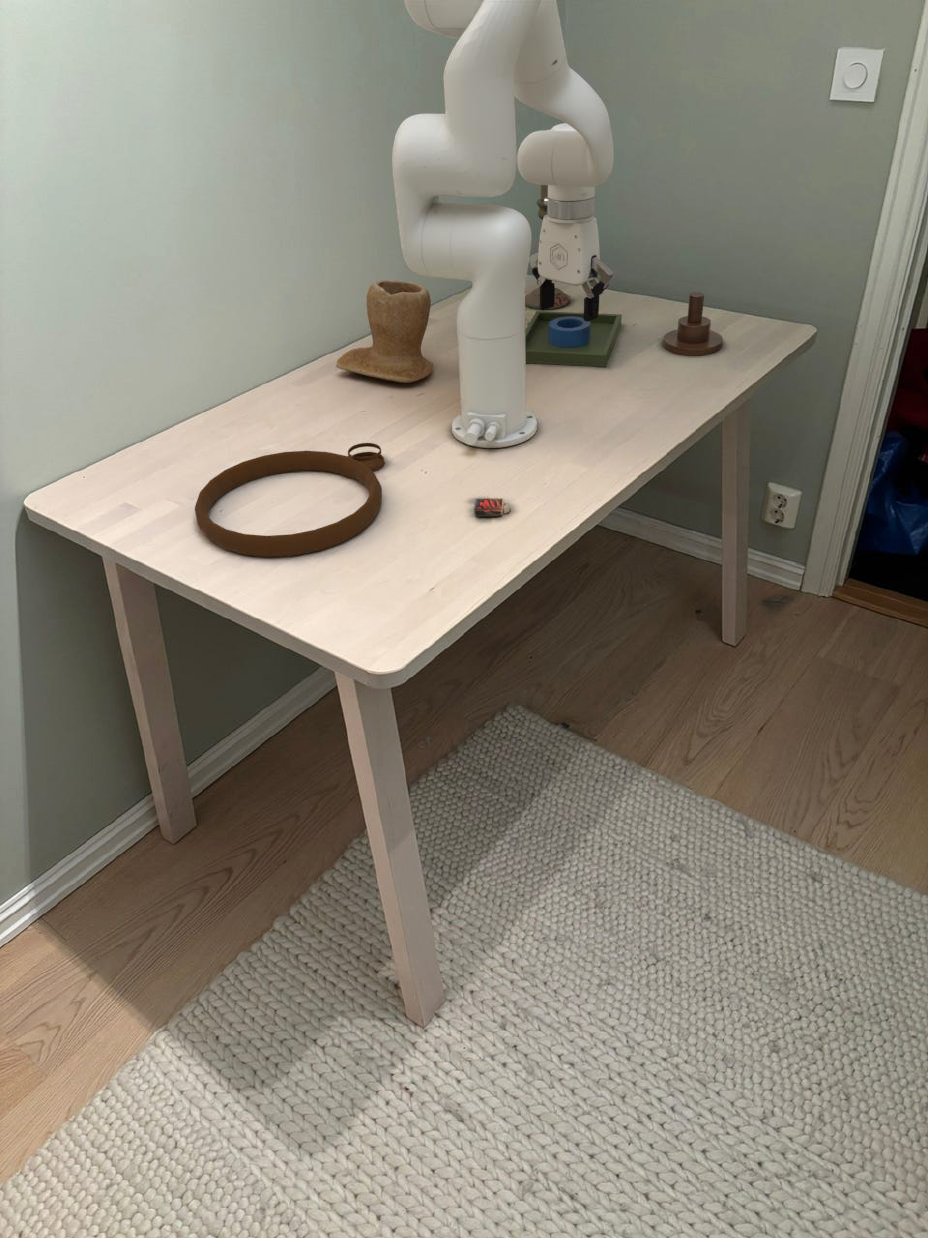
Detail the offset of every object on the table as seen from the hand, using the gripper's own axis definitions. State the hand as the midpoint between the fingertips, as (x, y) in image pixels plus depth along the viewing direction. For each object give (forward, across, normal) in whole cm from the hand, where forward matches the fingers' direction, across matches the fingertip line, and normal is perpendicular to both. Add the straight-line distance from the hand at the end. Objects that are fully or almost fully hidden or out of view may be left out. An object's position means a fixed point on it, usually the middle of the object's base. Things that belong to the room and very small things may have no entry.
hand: (568, 313), depth 172 cm
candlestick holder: (+5, -18, +15) cm, 24 cm away
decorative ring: (+7, +9, -65) cm, 66 cm away
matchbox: (+7, +29, -50) cm, 59 cm away
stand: (+5, +17, +13) cm, 22 cm away
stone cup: (+6, -15, -28) cm, 32 cm away
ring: (+5, 0, +1) cm, 5 cm away
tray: (+6, 0, +1) cm, 6 cm away
